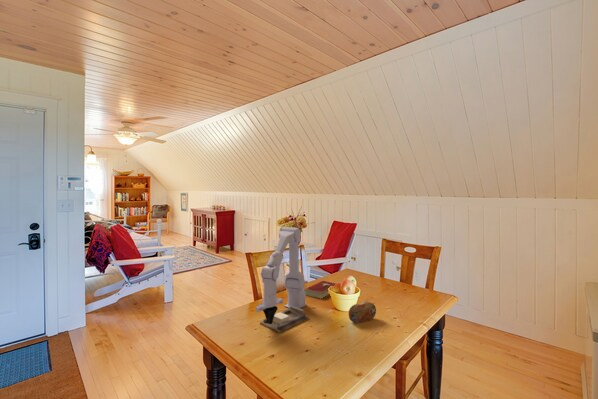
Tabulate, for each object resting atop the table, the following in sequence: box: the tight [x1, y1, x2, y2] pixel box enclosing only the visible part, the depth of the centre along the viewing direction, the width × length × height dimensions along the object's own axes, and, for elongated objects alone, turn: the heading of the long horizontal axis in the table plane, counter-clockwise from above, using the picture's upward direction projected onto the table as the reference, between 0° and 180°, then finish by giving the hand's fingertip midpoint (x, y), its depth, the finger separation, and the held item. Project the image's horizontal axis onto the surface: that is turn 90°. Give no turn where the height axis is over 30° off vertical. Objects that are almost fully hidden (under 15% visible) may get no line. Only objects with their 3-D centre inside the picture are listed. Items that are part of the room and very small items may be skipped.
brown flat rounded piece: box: [348, 301, 377, 325], centre depth 140 cm, size 15×3×8 cm, turn 117°
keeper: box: [273, 311, 289, 325], centre depth 136 cm, size 5×6×3 cm
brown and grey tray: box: [259, 306, 310, 334], centre depth 138 cm, size 20×13×4 cm, turn 138°
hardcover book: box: [304, 280, 337, 300], centre depth 179 cm, size 12×21×4 cm, turn 144°
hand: (269, 323), depth 131 cm, fingers closed
